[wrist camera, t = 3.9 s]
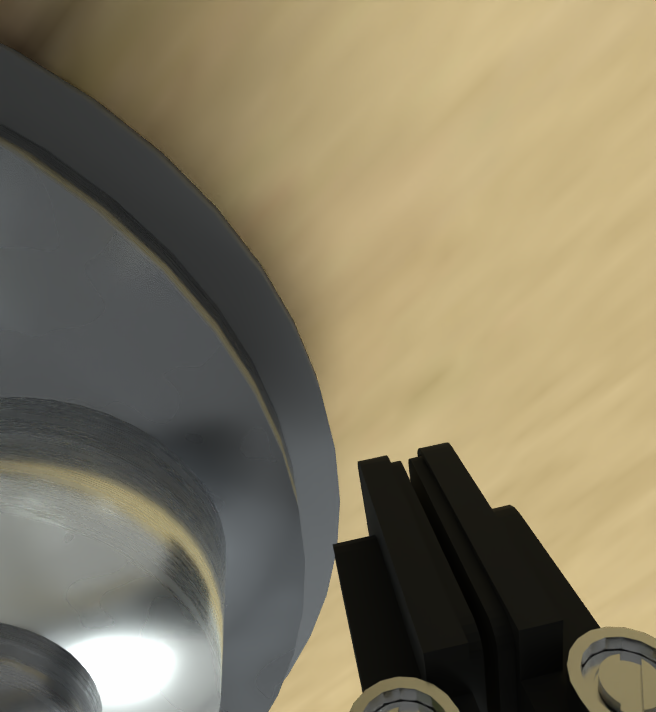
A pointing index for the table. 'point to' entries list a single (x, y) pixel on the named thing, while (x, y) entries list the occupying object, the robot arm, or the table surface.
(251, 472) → the turntable
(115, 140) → the turntable base
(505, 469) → the table surface
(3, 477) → the cover
